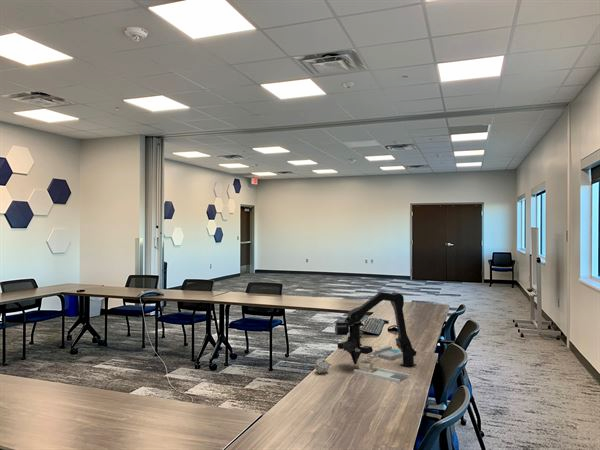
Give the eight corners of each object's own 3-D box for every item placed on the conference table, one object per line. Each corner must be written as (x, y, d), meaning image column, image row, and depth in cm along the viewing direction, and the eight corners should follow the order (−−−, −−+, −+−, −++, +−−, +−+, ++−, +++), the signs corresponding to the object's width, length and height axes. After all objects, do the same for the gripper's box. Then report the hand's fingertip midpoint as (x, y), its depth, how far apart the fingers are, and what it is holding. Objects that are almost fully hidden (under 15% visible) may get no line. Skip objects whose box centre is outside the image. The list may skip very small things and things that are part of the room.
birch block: (365, 368, 228) (365, 360, 228) (375, 370, 224) (375, 362, 224) (359, 371, 224) (358, 362, 224) (368, 373, 220) (368, 364, 220)
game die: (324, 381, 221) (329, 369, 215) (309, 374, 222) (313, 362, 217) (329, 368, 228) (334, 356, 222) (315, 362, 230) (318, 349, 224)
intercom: (362, 352, 246) (388, 344, 263) (362, 360, 246) (388, 351, 263) (381, 357, 236) (406, 348, 253) (381, 365, 236) (407, 355, 253)
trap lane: (365, 367, 231) (365, 364, 231) (410, 377, 214) (410, 374, 214) (353, 372, 223) (353, 369, 223) (399, 383, 206) (399, 380, 206)
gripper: (331, 334, 230) (332, 364, 229) (360, 339, 217) (361, 371, 217) (343, 331, 238) (344, 359, 237) (372, 335, 225) (373, 365, 225)
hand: (355, 363), depth 229 cm, fingers closed
